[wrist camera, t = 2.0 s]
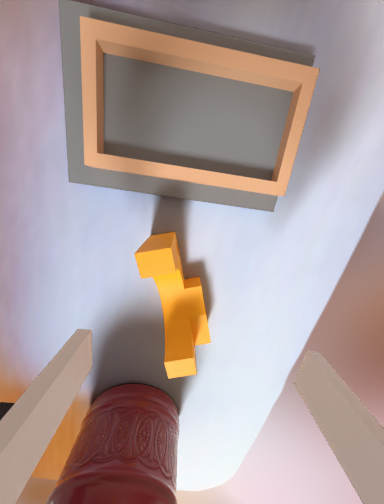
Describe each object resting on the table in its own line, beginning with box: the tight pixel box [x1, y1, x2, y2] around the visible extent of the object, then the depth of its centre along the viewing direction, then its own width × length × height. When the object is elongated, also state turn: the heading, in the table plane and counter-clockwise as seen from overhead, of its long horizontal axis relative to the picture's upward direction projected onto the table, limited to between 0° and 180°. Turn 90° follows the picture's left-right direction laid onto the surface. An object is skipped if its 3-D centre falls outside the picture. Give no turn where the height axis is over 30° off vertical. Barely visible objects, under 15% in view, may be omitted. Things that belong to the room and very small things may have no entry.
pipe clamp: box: [135, 231, 211, 379], centre depth 17 cm, size 12×4×6 cm, turn 9°
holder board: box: [59, 0, 320, 212], centre depth 15 cm, size 19×12×2 cm, turn 82°
